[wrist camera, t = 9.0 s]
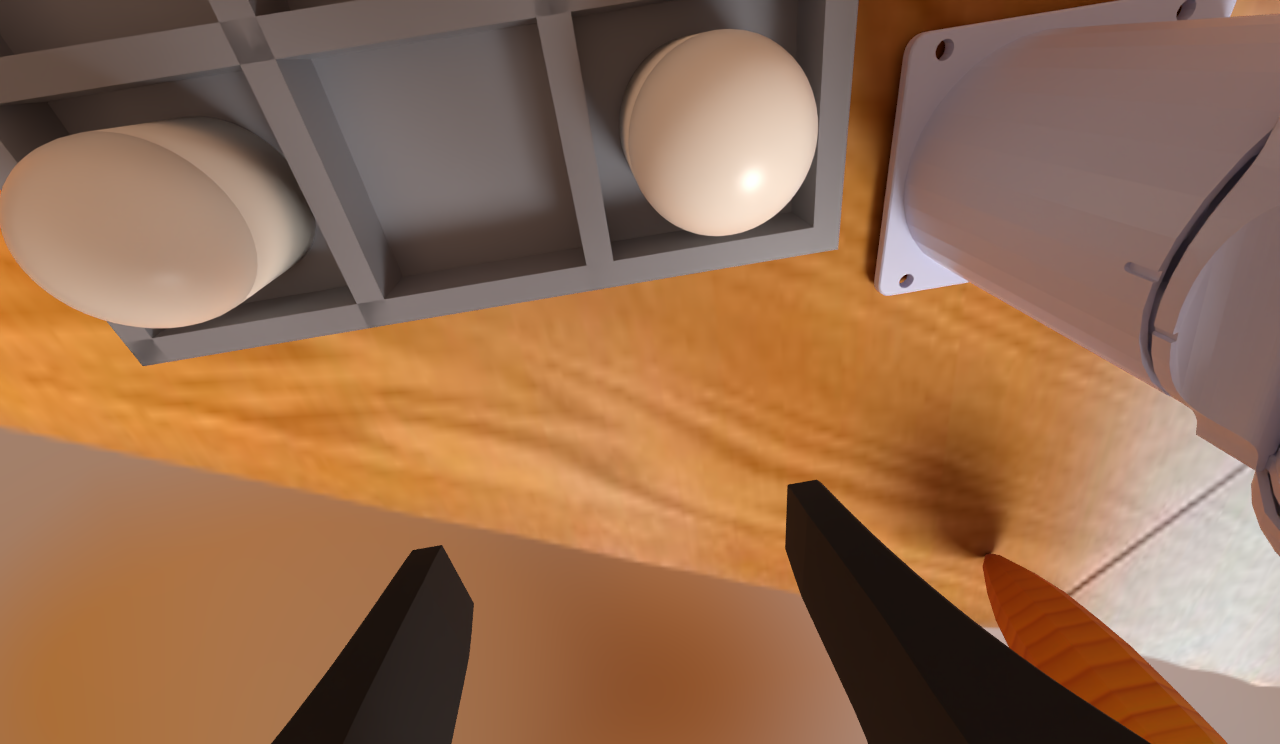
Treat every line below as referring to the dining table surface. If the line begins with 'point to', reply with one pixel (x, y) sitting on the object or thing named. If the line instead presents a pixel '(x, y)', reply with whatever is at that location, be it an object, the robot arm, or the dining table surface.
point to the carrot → (1088, 657)
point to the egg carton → (406, 154)
